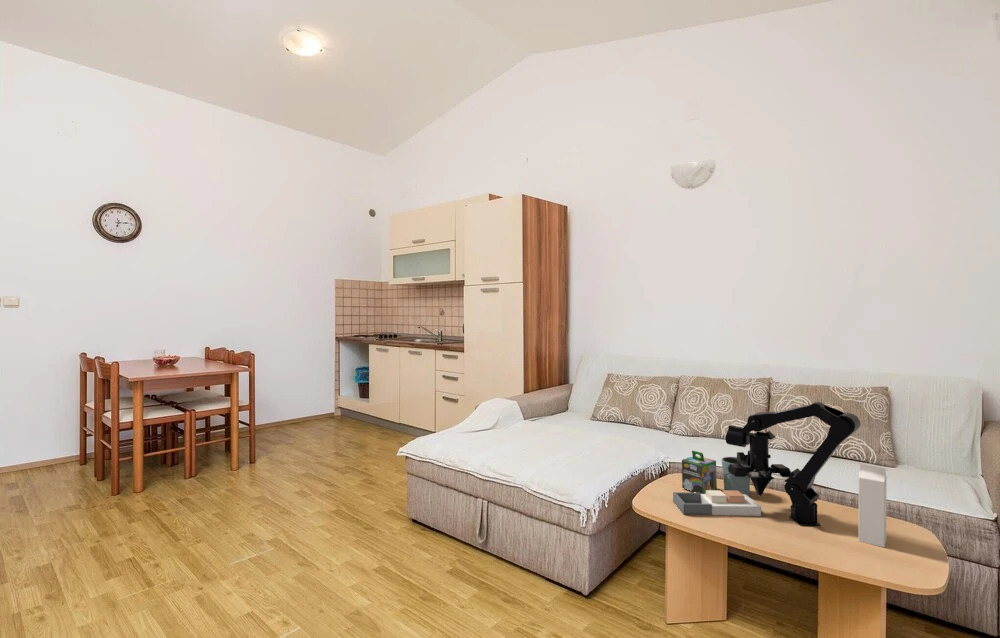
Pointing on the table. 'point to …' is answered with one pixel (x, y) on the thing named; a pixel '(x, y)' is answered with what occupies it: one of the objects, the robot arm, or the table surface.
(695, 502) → the tray
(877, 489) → the milk
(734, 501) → the tile
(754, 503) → the board
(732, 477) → the grey-blue cup
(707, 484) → the chalk box
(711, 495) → the tile
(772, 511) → the table surface
